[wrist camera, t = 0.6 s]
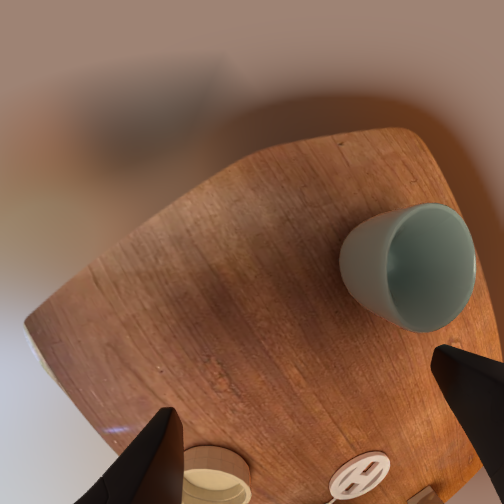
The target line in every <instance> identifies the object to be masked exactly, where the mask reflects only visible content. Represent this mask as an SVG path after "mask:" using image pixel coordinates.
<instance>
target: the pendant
mask: <svg viewBox="0 0 504 504" xmlns="http://www.w3.org/2000/svg"><path fill="white" fill-rule="evenodd" d="M371 462H375V463H374V464H373V465H372V466H371V467H370V468H369V469H368V470H367V471H366V473H365V472H362V471H363V470H364V469H365V468H366V467H367V466H368V465H369V464H370V463H371ZM389 468H390V460H389V459H388V458H387V456H386V455H385V454H384V453H382V452H376V451H374V452H369V453H365V454H362V455H360V456H357V457H356V458H354V459H352V460H350V461H349V462H347V463H346V464H344V465H343V466H342V467H341V468H340V469H339V470H338V471H337V472H336V473H335V474H334V475H333V477H332V478H331V480H330V482H329V490H330V492H331V495H332V496H333V497H334V498H333V499H332V500H331V501H330V502H329V503H326V504H332V503H333V502H334V501H335V500H336V499H340V500H346V499H352V498H355V497H358V496H361V495H363V494H365V493H367V492H368V491H370V490H371V489H373V488H374V487H375V486H377V485H378V484H379V483H380V482H381V481H382V480H383V478H384V477H385V476H386V474H387V473H388V471H389ZM351 483H355V484H354V485H353V486H352V487H351V488H350V489H349V490H348V491H345V489H346V488H347V487H348V486H349V485H350V484H351Z"/></svg>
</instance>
